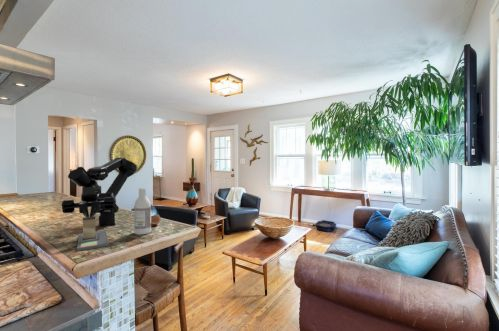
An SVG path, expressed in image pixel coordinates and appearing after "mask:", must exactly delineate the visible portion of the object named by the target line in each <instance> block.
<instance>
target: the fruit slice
mask: <svg viewBox="0 0 499 331" xmlns="http://www.w3.org/2000/svg"><path fill="white" fill-rule="evenodd" d="M160 223H161V216H160V214H155V215H151V227H155V226H157V225H159V224H160Z"/></svg>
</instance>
